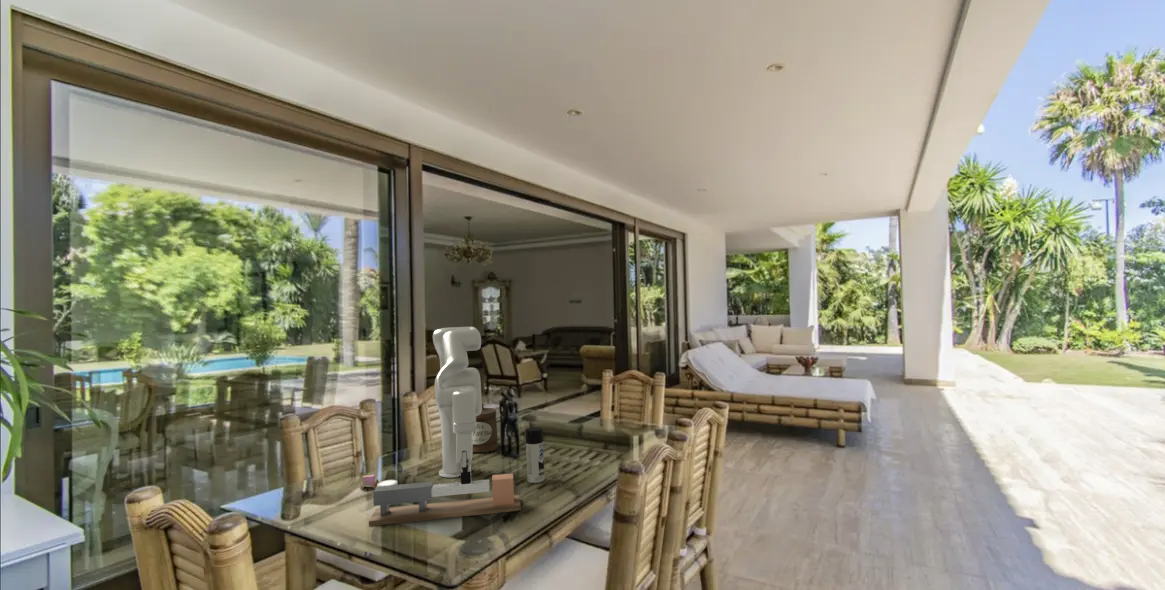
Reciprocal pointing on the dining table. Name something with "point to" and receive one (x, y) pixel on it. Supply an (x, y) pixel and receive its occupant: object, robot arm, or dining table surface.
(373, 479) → the perfume bottle
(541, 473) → the spray can
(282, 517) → the dining table surface
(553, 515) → the dining table surface
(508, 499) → the socket
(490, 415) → the wooden container
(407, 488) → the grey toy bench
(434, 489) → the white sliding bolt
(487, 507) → the base board
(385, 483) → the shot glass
